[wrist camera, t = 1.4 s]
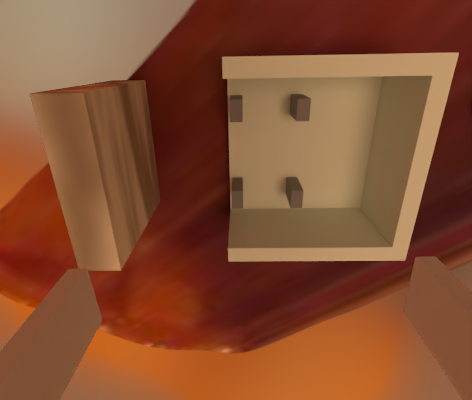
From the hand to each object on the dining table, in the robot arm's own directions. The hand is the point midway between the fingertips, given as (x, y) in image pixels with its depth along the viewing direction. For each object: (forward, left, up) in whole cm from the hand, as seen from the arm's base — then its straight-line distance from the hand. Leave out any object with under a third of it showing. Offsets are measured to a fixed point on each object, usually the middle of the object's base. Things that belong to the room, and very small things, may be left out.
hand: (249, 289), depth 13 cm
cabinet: (0, +7, -25) cm, 25 cm away
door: (0, -12, -25) cm, 27 cm away
